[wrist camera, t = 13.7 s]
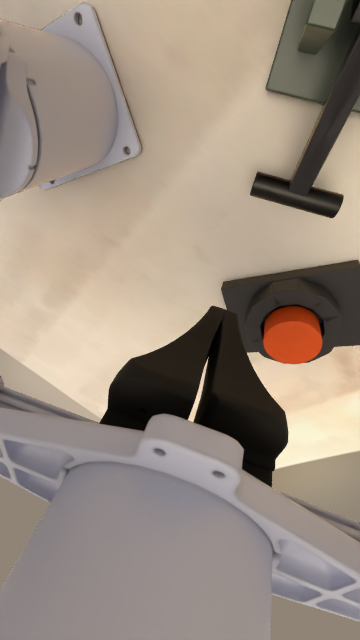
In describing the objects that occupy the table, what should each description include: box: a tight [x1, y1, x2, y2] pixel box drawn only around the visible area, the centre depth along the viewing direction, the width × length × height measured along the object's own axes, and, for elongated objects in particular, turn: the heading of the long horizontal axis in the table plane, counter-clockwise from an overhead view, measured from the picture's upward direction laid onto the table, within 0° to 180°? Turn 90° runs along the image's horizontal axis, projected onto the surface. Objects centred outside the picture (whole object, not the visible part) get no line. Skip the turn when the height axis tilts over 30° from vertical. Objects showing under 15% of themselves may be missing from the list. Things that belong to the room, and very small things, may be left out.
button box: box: [221, 260, 360, 364], centre depth 24 cm, size 10×7×3 cm
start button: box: [263, 306, 322, 364], centre depth 22 cm, size 4×4×2 cm
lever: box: [250, 0, 360, 218], centre depth 13 cm, size 11×5×2 cm, turn 167°
